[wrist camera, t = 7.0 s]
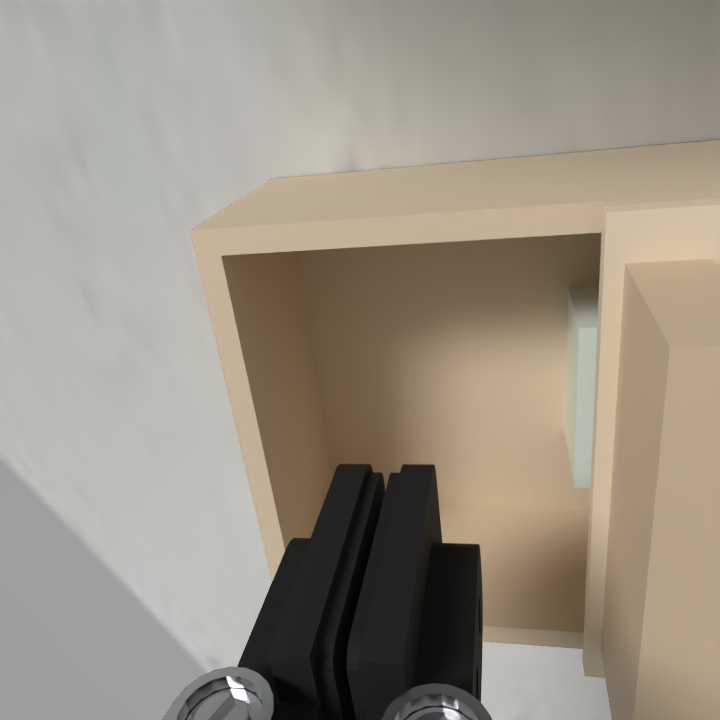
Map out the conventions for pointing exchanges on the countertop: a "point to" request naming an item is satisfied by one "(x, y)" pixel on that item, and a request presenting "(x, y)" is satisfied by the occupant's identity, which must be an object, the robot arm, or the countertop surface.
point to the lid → (656, 464)
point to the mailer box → (429, 348)
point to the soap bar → (580, 380)
